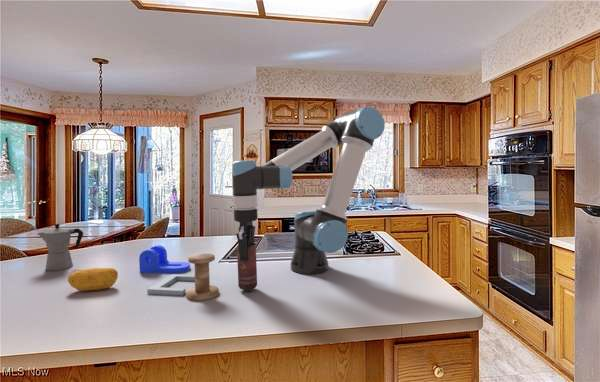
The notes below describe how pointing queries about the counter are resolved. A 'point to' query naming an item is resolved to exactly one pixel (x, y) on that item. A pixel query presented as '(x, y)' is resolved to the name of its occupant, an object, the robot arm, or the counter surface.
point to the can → (247, 270)
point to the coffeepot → (59, 247)
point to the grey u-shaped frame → (161, 286)
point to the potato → (93, 279)
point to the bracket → (160, 262)
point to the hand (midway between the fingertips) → (248, 279)
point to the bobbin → (202, 278)
